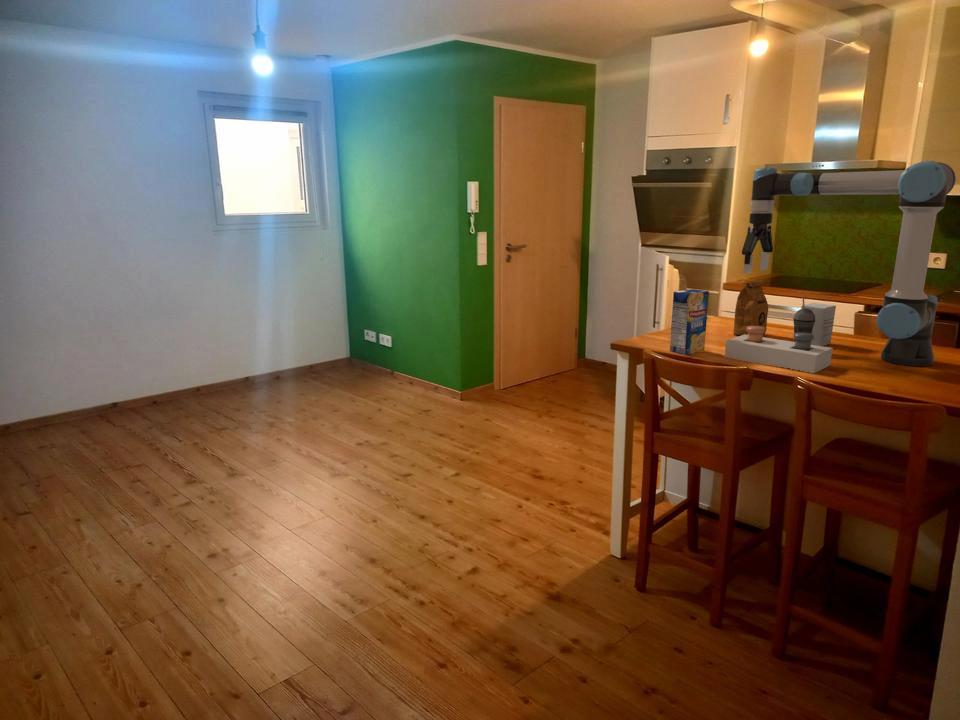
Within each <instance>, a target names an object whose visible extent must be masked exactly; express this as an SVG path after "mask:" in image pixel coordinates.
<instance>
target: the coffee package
mask: <svg viewBox="0 0 960 720" xmlns="http://www.w3.org/2000/svg"><path fill="white" fill-rule="evenodd" d="M764 284H765V281H764V280H763V279H762V280H761V279H760V280H754V281H747V282H745V284H744V285H743V287H742V288H741V290H740V292H739V293H738V295H737V298H736V304H735V310H734V322H733V324H734V325H733V335H734V336H739V335H740V336H741V335H744V334H745V335H748V332H747V331H746V330H747V326H761V327H765V333H763V334H764V335H765V334H766V333H767V325H768V316H769V315H768V313H769V304H768V303H769V302H768V300H767V297H766V295H765V294H764V290H763V285H764Z"/></svg>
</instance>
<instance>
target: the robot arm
mask: <svg viewBox="0 0 960 720" xmlns="http://www.w3.org/2000/svg"><path fill="white" fill-rule="evenodd" d="M752 177H753V178H752V187H751V188H752V190H751V198H750V200H751V202H750V204H749V205H750V212H751V213H750V214H749V221H748V222H749V223H748V224H751V225H752V224H753V225H752V226H748V227H747V234H746V236H745V240H744V243H743V247H742V249H741V255H742V256H744V258H743V259H744V261H743V269H742V271H743V273H742V274H752V270H753V262H754V261H753V259H754V254H753V253H754V250H755V248H756V246H757V244H758V241H760V243H759V244H760V245H761V246H760V247H761V249H762V252H760V253H761V255H760V256H761V257H760V265H759V270H761V271H768V270H769V265H770V264H769V263H770V262H769V261H770V254H771V253H773V252H774V247H773V246H774V245H773V244H774V243H773V236H772V225H770V224H772V222H773V216H774V215H773V213H772V212H774V205H775V204H774V203H775V196H796V197H800V196H822V195H823V196H826V195H827V196H829V195H831V196H832V195H836V196H837V195H840V196H841V195H844V196H845V195H847V196H848V195H900V196H899V202H898V209H900V210H901V211H902V213H903V214H902V221H901V226H900V232H899V239H898V240H899V241H898V244H897V251H896V258H895V264H894V270H893V276H892V283H891V288H890V290H888V291H887V292H885V294H884V298H883V303H882V304H883V305H882V308H881V309H880V310H879V312H878V314H877V316H876V317H877V318H876V324H877V326H878V327H877V328H878V329H879V330H880V331H881V332H882V334H883V335H884V336H887V337H888V340H887V342H886V343H885V345H884V347H883V349H882V351H881V355H880V359H881V360H883V361H885V362H887V363H891V364H896V365H901V366H908V367H909V366H911V367H931V366H933V365H934V363H935V354H934V350H933V349H934V348H933V345H932V336H933V331H934V326H935V319H936V313H937V307H938V305H939V304H938V297H937V296H935V295H932V294H931V295H930V294H926V293H925V291H924V288H925V284H926V277H927V272H928V267H929V266H928V265H929V262H930V256H931V255H930V254H931V248H932V245H933V243H932V242H933V238H934V237H933V236H934V231H935V225H936V221H937V215H938V213H939V212H941V210H943V209H944V208H945V203H946V198H947V195H948V194H950V192H951V191H952V190H953V189H954V187H955V184H956V179H957V178H956V177H957V176H956V172H955V171H954V169H953V168H952V167H951V166H950V165H949V164H947V163H944V162H940V161H934V160H925V161H919V162H917V163H913V164H911V165H910V166H908V167H907V168H905V169H904V170H903V169H901V170H899V169H898V170H875V171H874V170H872V171H871V170H870V171H844V172H842V171H841V172H839V171H838V172H815V173H814V172H801V171H800V172H790V173H789V172H788V173H787V172H786V173H781V172H780V173H779V172H778V168H776V167H761V168H760V167H759V168H756V169H755V170H754V173H753V176H752Z"/></svg>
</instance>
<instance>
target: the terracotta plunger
mask: <svg viewBox="0 0 960 720" xmlns="http://www.w3.org/2000/svg"><path fill="white" fill-rule="evenodd" d="M746 331H747V332H748V339H747V341H748V342H755V343H762V339H763V337H764V335H763V333H765V334H766V332H765V327H761V326H747V330H746Z"/></svg>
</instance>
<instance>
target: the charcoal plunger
mask: <svg viewBox="0 0 960 720" xmlns="http://www.w3.org/2000/svg"><path fill="white" fill-rule="evenodd" d="M792 338H793V340H794V339H795V345H794V349H798V350H805V351H809V350H810V347H811V340H813V339H814V335H813V334H810V333H794V332H793V337H792Z"/></svg>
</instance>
